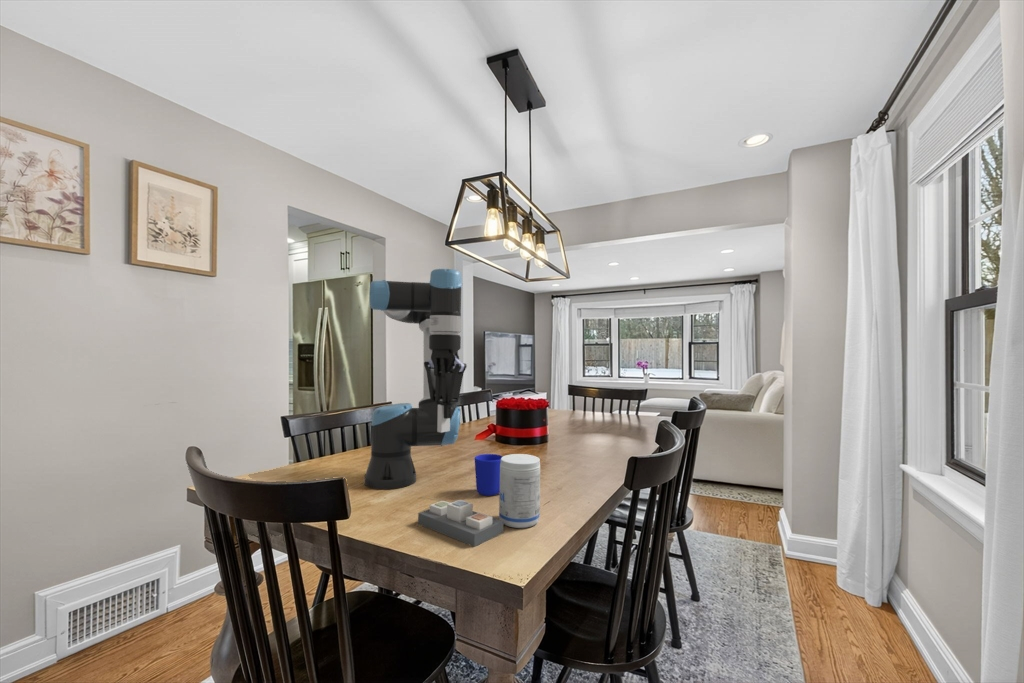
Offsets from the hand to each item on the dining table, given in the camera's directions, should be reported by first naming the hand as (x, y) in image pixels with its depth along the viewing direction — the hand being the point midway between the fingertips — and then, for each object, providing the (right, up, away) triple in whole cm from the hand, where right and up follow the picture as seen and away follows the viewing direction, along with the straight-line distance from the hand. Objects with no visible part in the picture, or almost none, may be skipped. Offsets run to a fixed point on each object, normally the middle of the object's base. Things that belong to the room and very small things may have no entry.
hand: (443, 431), depth 104 cm
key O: (+9, -19, -11) cm, 24 cm away
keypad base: (+5, -20, -8) cm, 22 cm away
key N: (0, -20, -4) cm, 20 cm away
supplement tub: (+18, -21, -3) cm, 28 cm away
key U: (+5, -18, -7) cm, 20 cm away
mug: (+12, -21, +17) cm, 30 cm away
